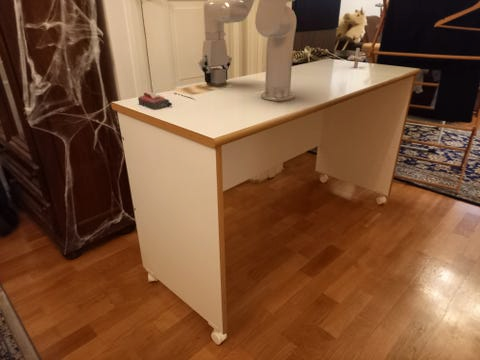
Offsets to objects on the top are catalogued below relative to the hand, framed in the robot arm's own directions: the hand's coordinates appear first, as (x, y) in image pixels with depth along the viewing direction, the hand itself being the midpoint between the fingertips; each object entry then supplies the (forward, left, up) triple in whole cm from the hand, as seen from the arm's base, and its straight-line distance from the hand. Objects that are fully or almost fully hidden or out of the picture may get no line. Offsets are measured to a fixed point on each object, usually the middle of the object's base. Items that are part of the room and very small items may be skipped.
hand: (216, 80), depth 147 cm
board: (-4, +5, -3) cm, 7 cm away
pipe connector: (+40, -76, -4) cm, 86 cm away
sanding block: (0, 0, -2) cm, 2 cm away
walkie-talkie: (-20, +24, -4) cm, 32 cm away
